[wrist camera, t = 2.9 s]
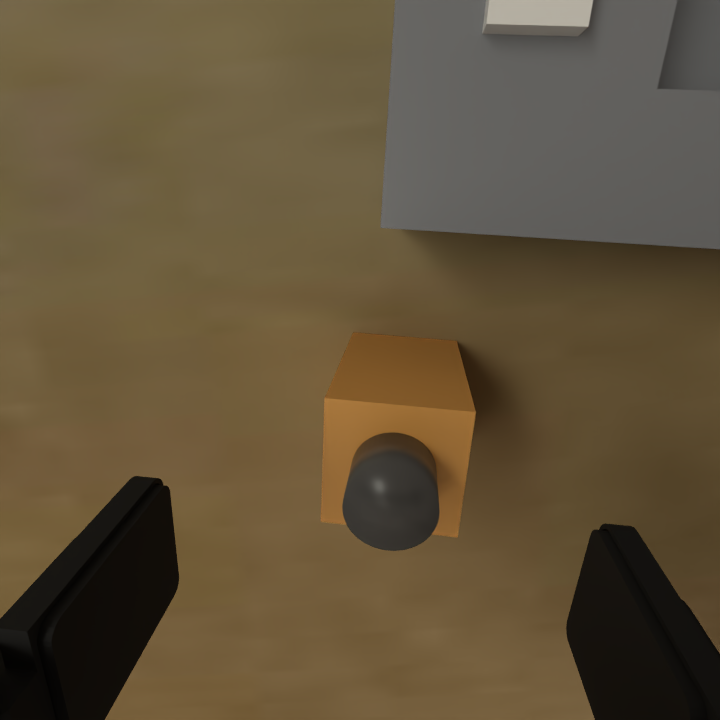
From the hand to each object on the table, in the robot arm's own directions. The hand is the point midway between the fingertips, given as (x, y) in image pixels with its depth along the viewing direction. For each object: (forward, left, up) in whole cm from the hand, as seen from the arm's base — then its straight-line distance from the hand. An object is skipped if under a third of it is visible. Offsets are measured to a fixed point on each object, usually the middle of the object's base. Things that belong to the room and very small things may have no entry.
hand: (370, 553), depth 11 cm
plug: (0, +1, -11) cm, 11 cm away
